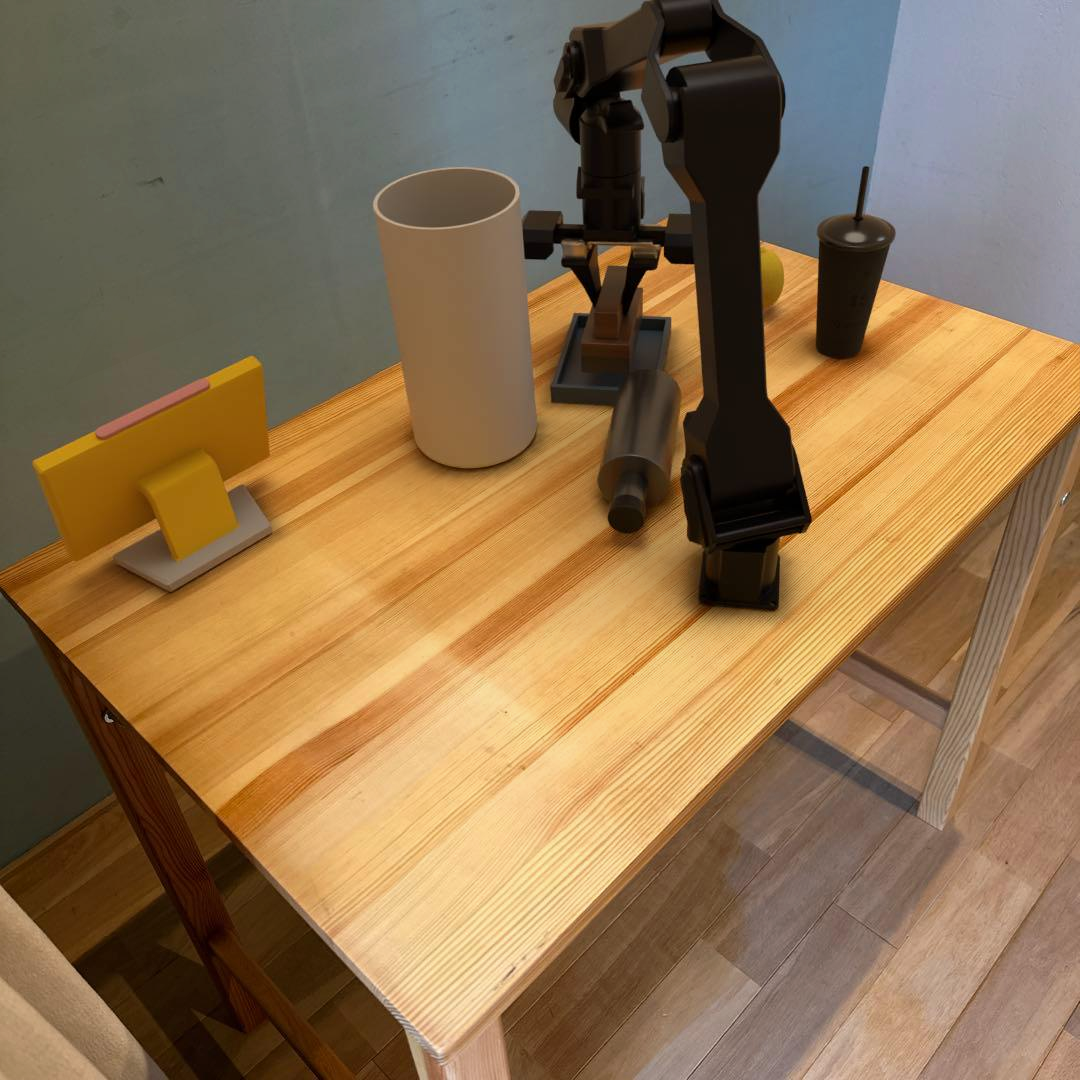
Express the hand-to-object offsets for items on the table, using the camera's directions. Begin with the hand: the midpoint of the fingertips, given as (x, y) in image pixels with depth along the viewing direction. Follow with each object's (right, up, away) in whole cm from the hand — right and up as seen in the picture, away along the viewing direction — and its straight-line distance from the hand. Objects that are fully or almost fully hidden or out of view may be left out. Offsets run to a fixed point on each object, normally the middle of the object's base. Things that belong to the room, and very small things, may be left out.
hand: (613, 312), depth 106 cm
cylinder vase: (-14, -13, -3) cm, 20 cm away
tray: (0, -5, +4) cm, 7 cm away
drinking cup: (+25, -3, +5) cm, 26 cm away
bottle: (+2, -18, -10) cm, 21 cm away
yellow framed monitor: (-39, -24, -13) cm, 48 cm away
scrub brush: (0, -3, +2) cm, 4 cm away
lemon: (+18, +2, +11) cm, 21 cm away
